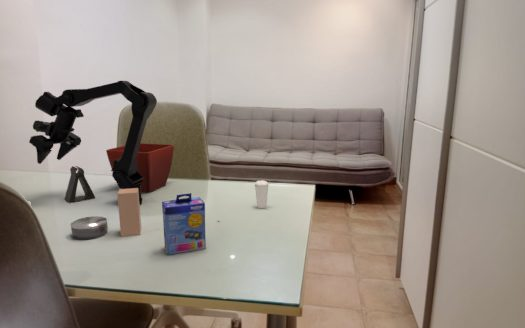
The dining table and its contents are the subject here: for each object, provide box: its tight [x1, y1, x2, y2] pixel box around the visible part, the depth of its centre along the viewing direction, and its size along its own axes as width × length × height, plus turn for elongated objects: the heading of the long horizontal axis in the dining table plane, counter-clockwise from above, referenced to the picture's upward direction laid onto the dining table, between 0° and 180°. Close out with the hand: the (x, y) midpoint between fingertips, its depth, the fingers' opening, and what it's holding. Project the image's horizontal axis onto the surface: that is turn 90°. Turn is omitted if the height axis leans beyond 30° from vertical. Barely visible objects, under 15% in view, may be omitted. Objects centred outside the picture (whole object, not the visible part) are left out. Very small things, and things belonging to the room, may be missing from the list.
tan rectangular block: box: [116, 188, 142, 237], centre depth 104 cm, size 5×5×12 cm
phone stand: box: [64, 165, 96, 204], centre depth 137 cm, size 9×6×12 cm, turn 131°
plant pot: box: [105, 142, 175, 193], centre depth 152 cm, size 19×19×17 cm
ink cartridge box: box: [161, 192, 207, 256], centre depth 93 cm, size 10×6×14 cm, turn 114°
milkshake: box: [254, 179, 271, 209], centre depth 126 cm, size 4×5×10 cm
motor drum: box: [70, 215, 109, 241], centre depth 104 cm, size 9×9×4 cm
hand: (48, 161), depth 135 cm, fingers open, 9 cm apart
